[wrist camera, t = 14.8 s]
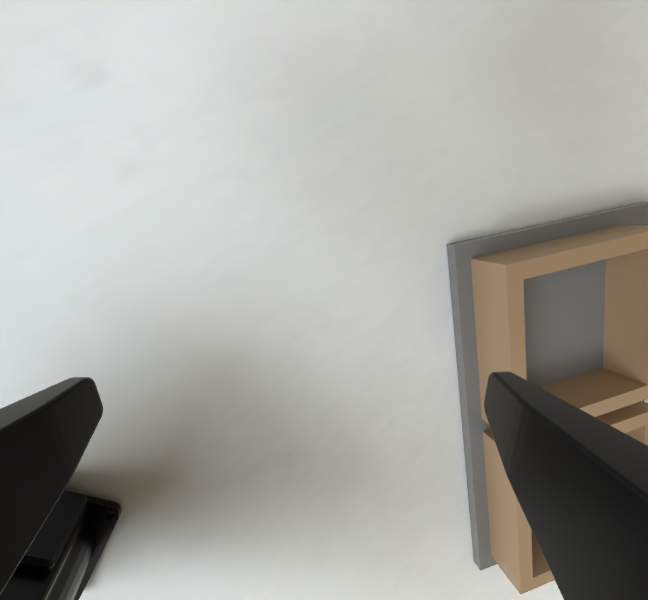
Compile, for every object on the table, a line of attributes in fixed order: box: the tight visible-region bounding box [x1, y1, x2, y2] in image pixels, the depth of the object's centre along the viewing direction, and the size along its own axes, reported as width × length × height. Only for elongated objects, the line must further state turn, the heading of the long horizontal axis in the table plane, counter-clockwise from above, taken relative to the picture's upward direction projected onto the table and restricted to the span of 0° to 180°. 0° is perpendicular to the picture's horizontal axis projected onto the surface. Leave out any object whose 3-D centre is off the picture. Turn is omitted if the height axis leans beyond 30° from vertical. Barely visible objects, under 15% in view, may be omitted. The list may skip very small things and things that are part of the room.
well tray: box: [447, 202, 648, 594], centre depth 25 cm, size 25×15×4 cm, turn 10°
